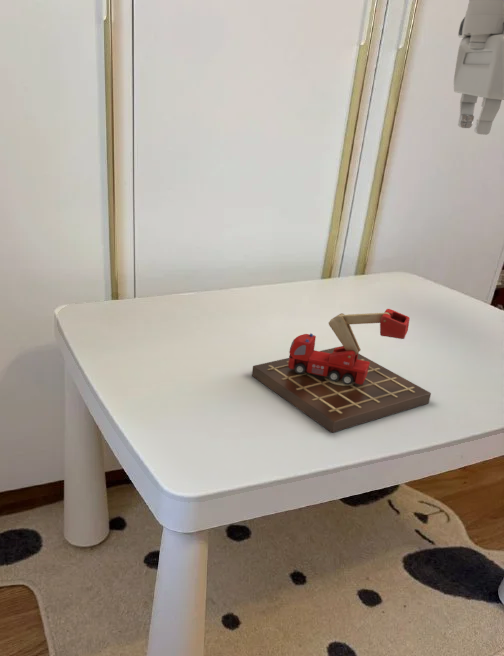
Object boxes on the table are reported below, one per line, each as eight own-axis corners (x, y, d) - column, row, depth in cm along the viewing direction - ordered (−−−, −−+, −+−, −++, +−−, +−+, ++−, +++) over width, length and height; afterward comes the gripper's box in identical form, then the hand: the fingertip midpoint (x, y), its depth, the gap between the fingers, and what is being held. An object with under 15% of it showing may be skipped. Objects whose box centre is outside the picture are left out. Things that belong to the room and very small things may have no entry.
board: (428, 403, 79) (431, 391, 78) (332, 433, 72) (334, 420, 71) (342, 354, 91) (344, 344, 90) (251, 375, 84) (252, 364, 83)
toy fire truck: (291, 361, 84) (300, 291, 80) (395, 384, 80) (412, 312, 75) (284, 370, 81) (293, 299, 77) (391, 395, 77) (408, 321, 72)
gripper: (550, 19, 77) (517, 140, 84) (499, 26, 95) (475, 126, 102) (497, 15, 78) (469, 136, 84) (457, 24, 96) (436, 123, 102)
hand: (472, 130), depth 93 cm, fingers open, 8 cm apart
